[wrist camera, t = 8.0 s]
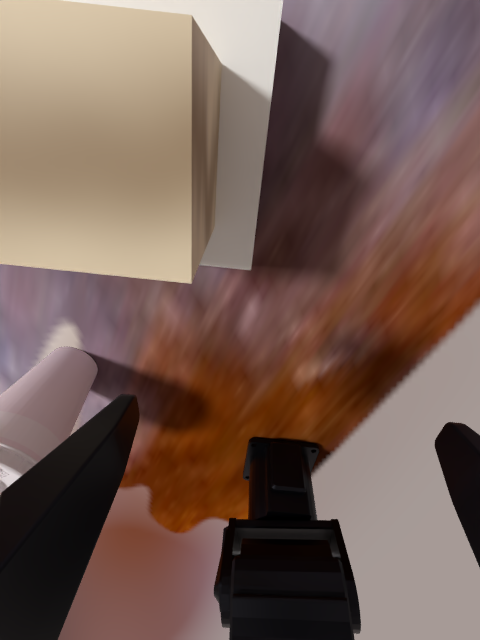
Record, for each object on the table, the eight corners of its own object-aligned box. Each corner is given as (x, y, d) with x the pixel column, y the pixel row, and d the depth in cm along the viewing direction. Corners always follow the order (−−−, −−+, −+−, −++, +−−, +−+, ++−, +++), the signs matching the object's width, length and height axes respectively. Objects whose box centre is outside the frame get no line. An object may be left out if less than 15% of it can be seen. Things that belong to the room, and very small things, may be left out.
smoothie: (92, 326, 22) (-101, 563, 10) (127, 388, 25) (14, 620, 13) (15, 338, 23) (-242, 567, 11) (59, 396, 26) (-101, 619, 14)
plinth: (251, 249, 18) (250, 270, 15) (84, 232, 18) (56, 250, 15) (278, 18, 12) (284, -8, 10) (37, -9, 12) (-19, -42, 10)
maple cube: (214, 227, 14) (191, 283, 9) (88, 213, 14) (-3, 263, 9) (221, 63, 11) (191, 15, 6) (58, 45, 11) (-110, -19, 6)
